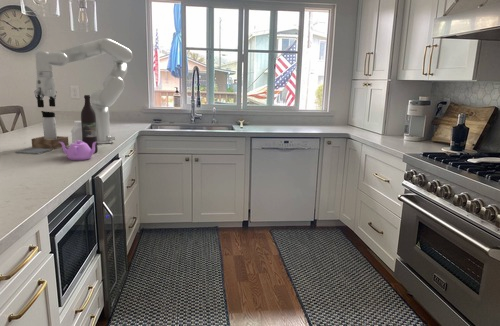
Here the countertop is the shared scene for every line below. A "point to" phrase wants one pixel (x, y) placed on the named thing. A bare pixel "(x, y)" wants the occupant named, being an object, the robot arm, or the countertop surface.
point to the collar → (49, 142)
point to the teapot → (79, 150)
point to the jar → (77, 132)
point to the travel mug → (49, 125)
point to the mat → (34, 150)
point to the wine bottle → (88, 124)
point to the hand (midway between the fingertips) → (46, 106)
